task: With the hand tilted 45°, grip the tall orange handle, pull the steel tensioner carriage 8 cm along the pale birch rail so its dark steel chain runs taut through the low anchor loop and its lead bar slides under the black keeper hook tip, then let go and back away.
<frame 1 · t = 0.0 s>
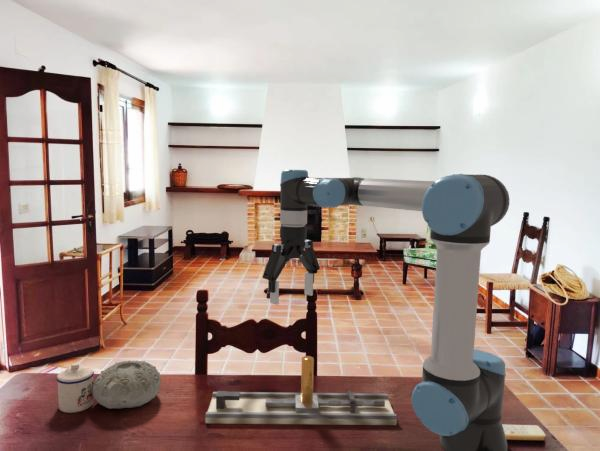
hand: (292, 299, 134), 28 cm above the table, tool pointing down, fingers open, 13 cm apart
grey rounded lump: (128, 401, 131), on the table
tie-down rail: (306, 412, 127), on the table
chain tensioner: (306, 412, 127), resting on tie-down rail, slide at 0.0 cm
teacup with lid: (79, 403, 129), on the table
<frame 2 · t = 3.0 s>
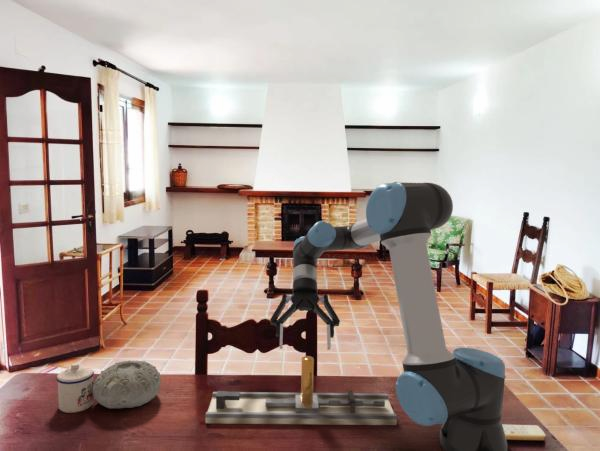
hand: (305, 347, 133), 15 cm above the table, tool tilted 45°, fingers open, 13 cm apart
nothing on the table moved.
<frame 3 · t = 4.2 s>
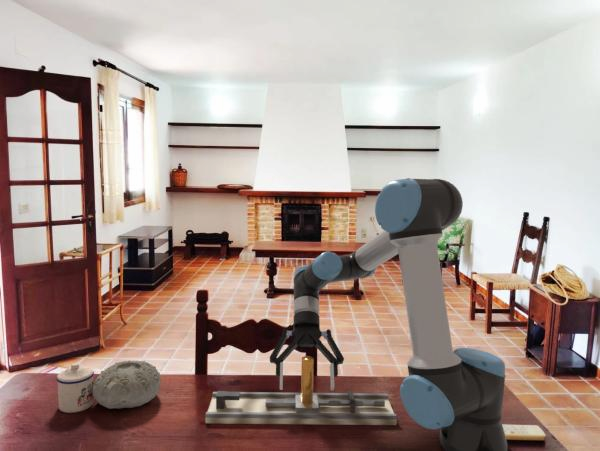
hand: (306, 388, 124), 7 cm above the table, tool tilted 45°, fingers open, 13 cm apart
nothing on the table moved.
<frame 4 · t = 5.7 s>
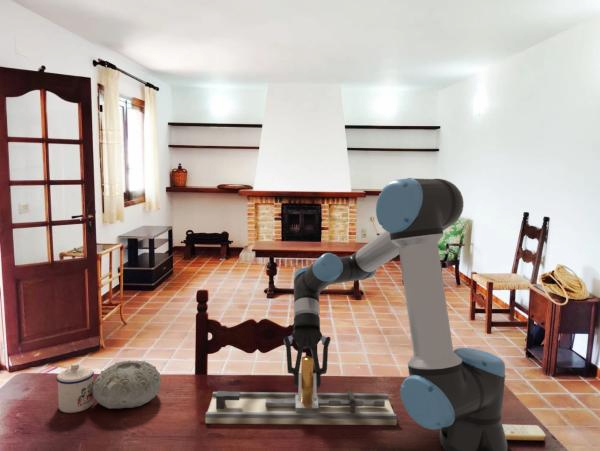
hand: (307, 399, 122), 6 cm above the table, tool tilted 45°, fingers closed on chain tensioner, 3 cm apart
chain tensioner: (306, 412, 127), resting on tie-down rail, slide at 0.0 cm, touching gripper
everything else where it was.
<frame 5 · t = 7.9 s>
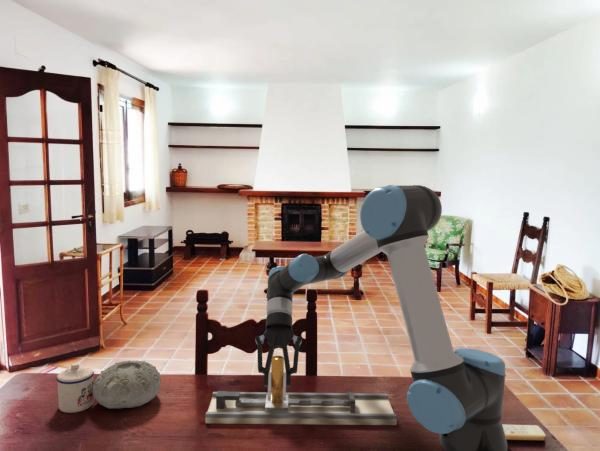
hand: (276, 398, 122), 6 cm above the table, tool tilted 45°, fingers closed on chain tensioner, 3 cm apart
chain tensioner: (276, 411, 126), resting on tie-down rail, slide at 8.0 cm, touching gripper
everything else where it was.
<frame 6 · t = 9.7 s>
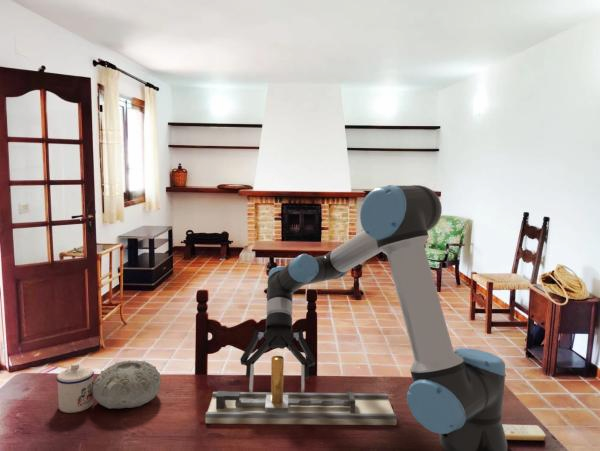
hand: (276, 390, 123), 7 cm above the table, tool tilted 45°, fingers open, 13 cm apart
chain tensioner: (276, 411, 126), resting on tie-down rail, slide at 8.0 cm
everything else where it was.
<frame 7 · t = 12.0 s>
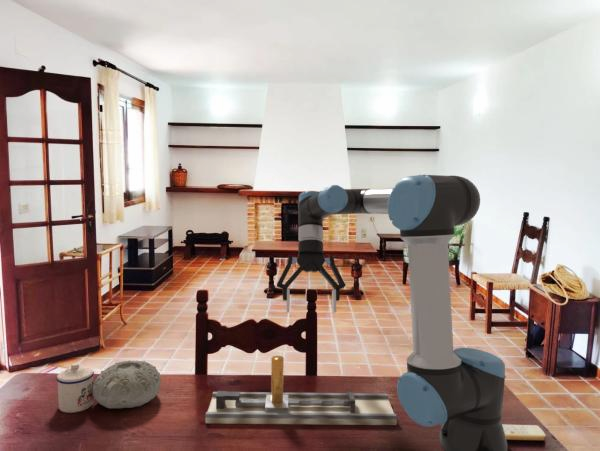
hand: (311, 312, 137), 23 cm above the table, tool tilted 25°, fingers open, 13 cm apart
nothing on the table moved.
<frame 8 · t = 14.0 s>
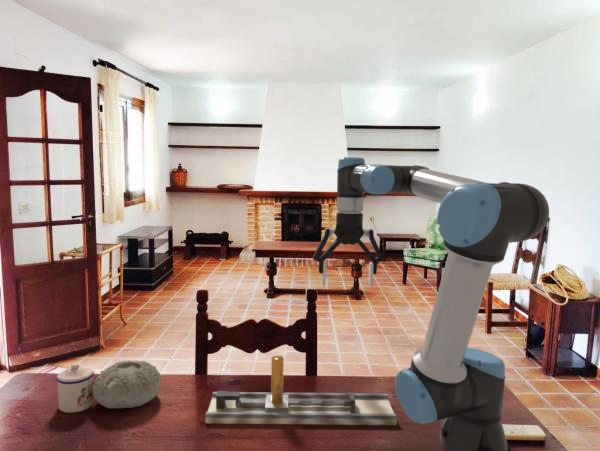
hand: (347, 284, 137), 32 cm above the table, tool pointing down, fingers open, 13 cm apart
nothing on the table moved.
at the end: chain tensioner slide at 8.0 cm; the gripper is holding nothing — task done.
